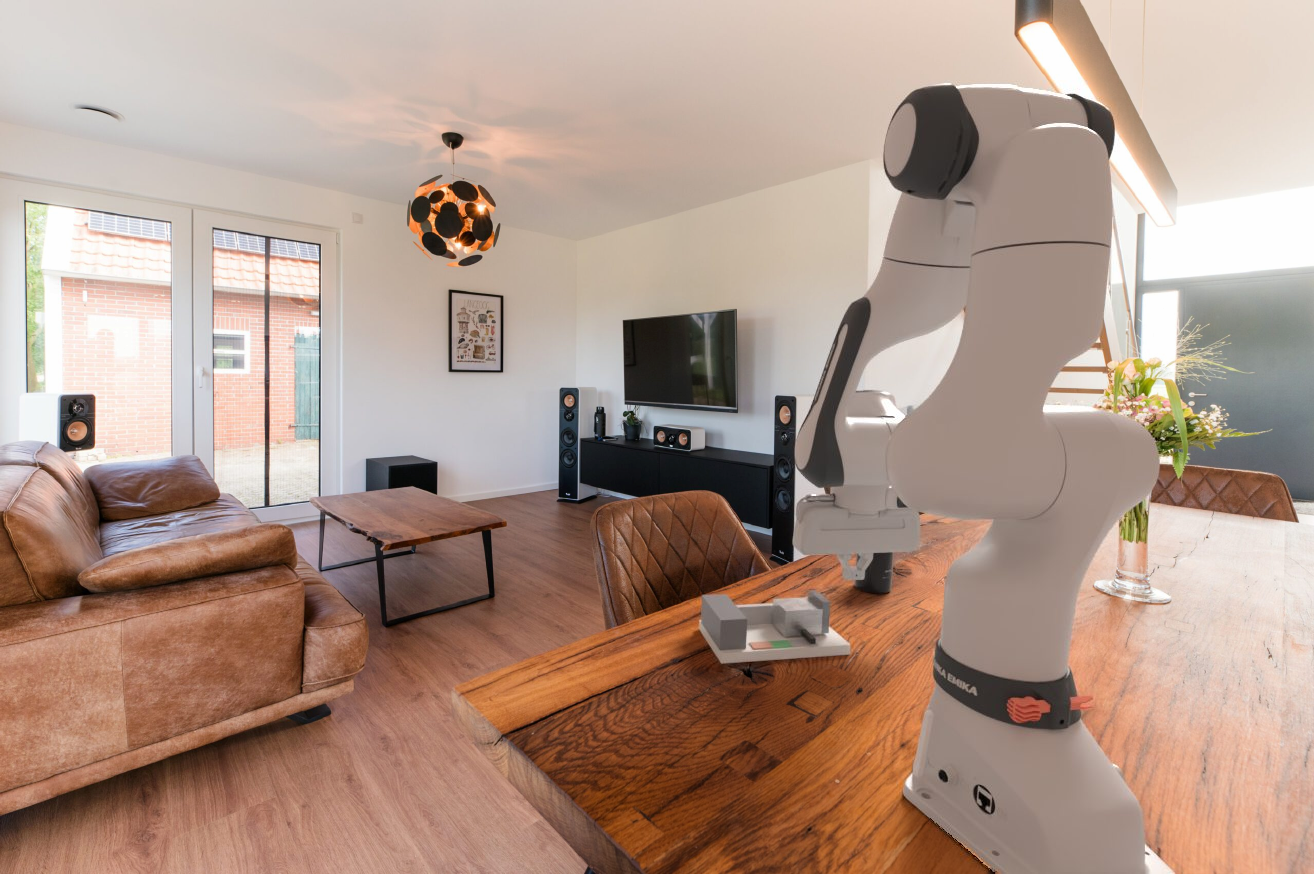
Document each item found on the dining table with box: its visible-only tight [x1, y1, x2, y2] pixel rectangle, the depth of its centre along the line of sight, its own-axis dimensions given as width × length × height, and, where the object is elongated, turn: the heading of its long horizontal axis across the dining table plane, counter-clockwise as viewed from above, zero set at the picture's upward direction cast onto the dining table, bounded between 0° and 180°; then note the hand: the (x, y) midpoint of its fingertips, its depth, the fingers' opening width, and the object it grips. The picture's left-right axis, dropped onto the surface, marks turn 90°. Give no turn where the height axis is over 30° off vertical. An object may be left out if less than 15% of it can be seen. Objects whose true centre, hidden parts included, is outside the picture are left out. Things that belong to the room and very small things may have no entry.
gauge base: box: [698, 593, 852, 664], centre depth 96 cm, size 12×20×6 cm, turn 102°
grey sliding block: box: [772, 589, 831, 644], centre depth 95 cm, size 8×7×5 cm
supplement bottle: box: [854, 552, 895, 595], centre depth 121 cm, size 7×7×12 cm
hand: (853, 578), depth 99 cm, fingers closed
